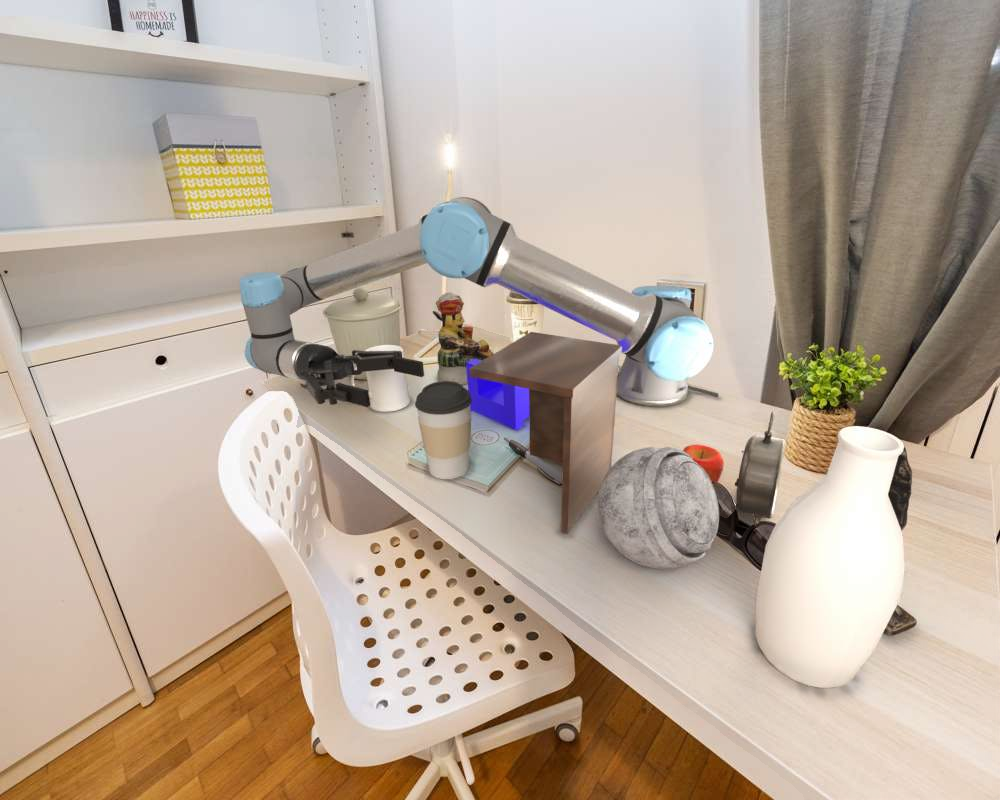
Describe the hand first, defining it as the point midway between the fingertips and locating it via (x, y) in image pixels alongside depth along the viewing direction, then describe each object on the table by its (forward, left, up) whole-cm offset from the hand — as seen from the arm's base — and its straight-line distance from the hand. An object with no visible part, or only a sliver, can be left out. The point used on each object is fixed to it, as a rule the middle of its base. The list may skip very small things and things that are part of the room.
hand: (396, 383), depth 86 cm
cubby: (-25, +11, -14) cm, 30 cm away
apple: (-47, +13, -14) cm, 51 cm away
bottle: (-49, +41, -14) cm, 66 cm away
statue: (-59, +36, -14) cm, 71 cm away
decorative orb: (-37, +26, -14) cm, 48 cm away
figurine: (-7, -35, -14) cm, 39 cm away
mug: (+9, -20, -14) cm, 26 cm away
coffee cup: (-8, +5, -14) cm, 17 cm away
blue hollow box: (-22, -20, -14) cm, 33 cm away
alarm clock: (-53, +18, -14) cm, 58 cm away
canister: (+16, -39, -14) cm, 44 cm away
